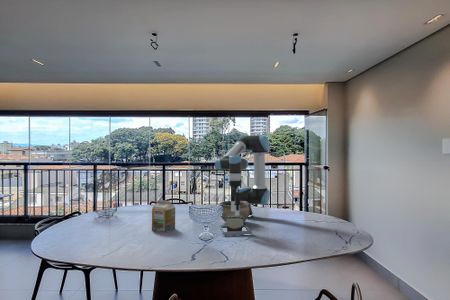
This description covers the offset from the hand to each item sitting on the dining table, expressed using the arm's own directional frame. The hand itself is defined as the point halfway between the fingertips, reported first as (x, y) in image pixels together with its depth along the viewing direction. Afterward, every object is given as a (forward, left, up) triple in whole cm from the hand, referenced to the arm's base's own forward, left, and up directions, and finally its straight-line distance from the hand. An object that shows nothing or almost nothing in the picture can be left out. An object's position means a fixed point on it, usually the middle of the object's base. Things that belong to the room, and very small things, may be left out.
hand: (235, 213), depth 186 cm
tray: (0, 0, -12) cm, 12 cm away
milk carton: (-11, -45, -12) cm, 48 cm away
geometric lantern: (-59, -92, -12) cm, 110 cm away
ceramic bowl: (-24, +4, -12) cm, 27 cm away
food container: (0, 0, -11) cm, 11 cm away
